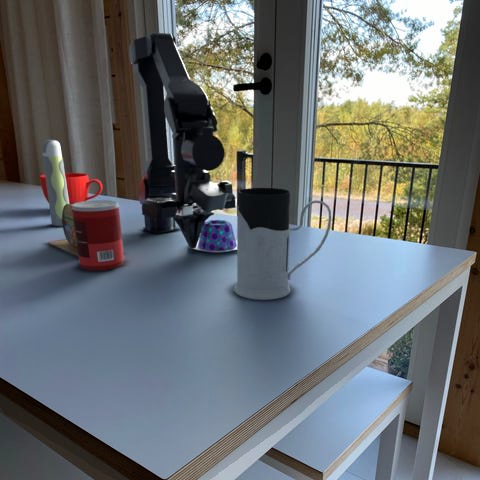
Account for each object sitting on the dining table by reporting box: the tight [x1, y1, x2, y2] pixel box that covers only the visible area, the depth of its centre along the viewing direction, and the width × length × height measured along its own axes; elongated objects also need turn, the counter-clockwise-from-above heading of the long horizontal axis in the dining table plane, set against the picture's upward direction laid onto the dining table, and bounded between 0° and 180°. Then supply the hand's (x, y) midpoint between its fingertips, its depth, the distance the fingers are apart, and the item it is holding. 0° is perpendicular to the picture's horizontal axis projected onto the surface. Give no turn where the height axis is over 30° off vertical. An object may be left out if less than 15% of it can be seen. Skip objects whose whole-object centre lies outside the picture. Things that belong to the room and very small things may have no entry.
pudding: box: [187, 219, 237, 253], centre depth 97 cm, size 12×12×5 cm
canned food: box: [72, 199, 125, 271], centre depth 84 cm, size 8×8×11 cm
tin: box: [62, 204, 77, 247], centre depth 96 cm, size 15×3×8 cm, turn 40°
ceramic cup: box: [39, 172, 103, 204], centre depth 135 cm, size 13×17×10 cm
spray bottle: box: [41, 139, 69, 227], centre depth 115 cm, size 5×5×20 cm
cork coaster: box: [47, 238, 79, 258], centre depth 97 cm, size 7×18×1 cm, turn 43°
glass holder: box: [233, 187, 332, 301], centre depth 71 cm, size 9×14×15 cm, turn 88°
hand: (192, 248), depth 94 cm, fingers closed
